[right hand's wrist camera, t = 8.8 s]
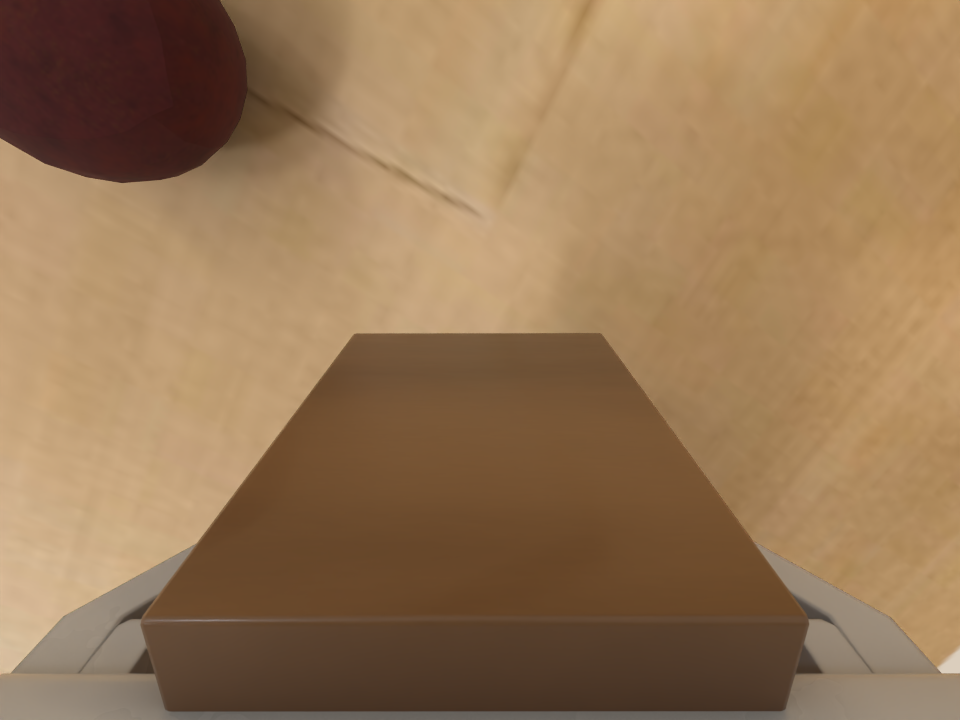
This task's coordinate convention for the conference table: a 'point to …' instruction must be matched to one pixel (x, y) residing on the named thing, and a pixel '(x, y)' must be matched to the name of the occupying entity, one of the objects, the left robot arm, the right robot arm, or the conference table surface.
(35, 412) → the conference table surface
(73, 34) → the dark maroon ball
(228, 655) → the block
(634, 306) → the conference table surface
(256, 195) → the conference table surface
